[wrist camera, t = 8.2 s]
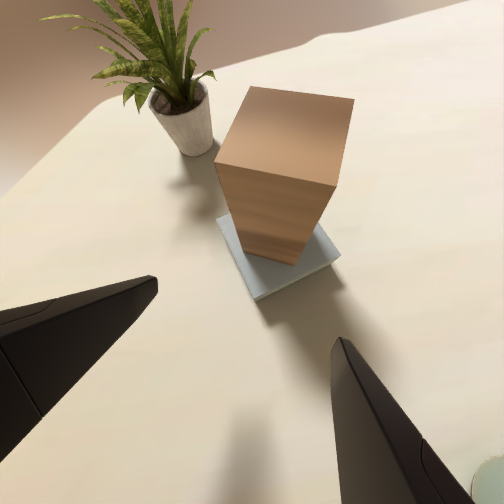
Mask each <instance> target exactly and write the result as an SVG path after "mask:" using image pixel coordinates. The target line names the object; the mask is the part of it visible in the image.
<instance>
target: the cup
mask: <svg viewBox="0 0 504 504" xmlns="http://www.w3.org/2000/svg"><path fill="white" fill-rule="evenodd" d="M472 500H473V501H474V502H475V503H476V504H504V455H498V456H494V457H491V458H489V459H488V460H486V461H484V462H483V463H482V464H481V466H480V467H479V468H478V470H477V471H476V473H475V476H474V479H473V483H472Z"/></svg>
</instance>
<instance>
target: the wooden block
mask: <svg viewBox="0 0 504 504" xmlns="http://www.w3.org/2000/svg"><path fill="white" fill-rule="evenodd" d="M354 100H355V99H349V98H341V97H333V96H325V95H317V94H309V93H301V92H293V91H285V90H277V89H269V88H261V87H253V86H250V88H249V90H248V92H247V94H246V96H245V98H244V100H243V102H242V105H241V107H240V109H239V111H238V113H237V115H236V117H235V119H234V121H233V123H232V125H231V127H230V129H229V131H228V133H227V136H226V138H225V140H224V142H223V144H222V146H221V148H220V150H219V152H218V154H217V156H216V158H215V160H214V164H215V167H216V170H217V173H218V176H219V179H220V182H221V185H222V189H223V192H224V195H225V198H226V201H227V204H228V207H229V210H230V213H231V216H232V220H233V223H234V226H235V229H236V232H237V235H238V238H239V241H240V244H241V247H242V251H243V252H244V253H248V254H251V255H255V256H259V257H262V258H266V259H269V260H273V261H276V262H280V263H284V264H287V265H291V266H295V264H296V262H297V261H298V259H299V257H300V255H301V253H302V251H303V249H304V247H305V245H306V244H307V242H308V240H309V238H310V236H311V234H312V232H313V230H314V228H315V226H316V225H317V223H318V221H319V219H320V217H321V215H322V213H323V211H324V209H325V208H326V206H327V204H328V202H329V200H330V198H331V196H332V194H333V192H334V191H335V189H336V187H337V183H338V178H339V173H340V168H341V163H342V158H343V153H344V149H345V144H346V139H347V134H348V129H349V124H350V119H351V114H352V110H353V105H354Z"/></svg>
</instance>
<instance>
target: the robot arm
mask: <svg viewBox="0 0 504 504" xmlns="http://www.w3.org/2000/svg"><path fill="white" fill-rule="evenodd" d="M157 293H158V280H157V278H156V277H154V276H151V275H147V276H143V277H139V278H135V279H131V280H127V281H123V282H119V283H115V284H111V285H107V286H103V287H99V288H95V289H91V290H87V291H83V292H79V293H75V294H71V295H67V296H63V297H59V298H58V299H57V298H55V299H51V300H47V301H43V302H38V303H34V304H30V305H26V306H21V307H16V308H12V309H7V310H2V311H0V463H1V461H2V460H3V459H4V458H5V457H6V456H7V455H8V454H9V453H10V452H11V451H12V450H13V449H14V448H15V447H16V446H17V445H18V444H19V443H20V442H21V441H22V439H23V438H24V437H25V436H26V435H27V434H28V433H29V432H30V431H31V430H32V429H33V428H34V427H35V426H36V425H37V424H38V423H39V422H40V421H41V420H42V417H44V416H45V415H46V414H47V413H48V412H49V411H50V410H51V409H52V408H53V407H54V406H55V405H56V404H57V403H58V402H59V401H60V400H61V398H62V397H63V396H64V395H65V394H66V393H67V392H68V391H69V390H70V389H71V388H72V387H73V386H74V385H75V384H76V383H77V382H78V381H79V380H80V379H81V378H82V376H83V375H84V374H85V373H86V372H87V371H88V370H89V369H90V368H91V367H92V366H93V365H94V364H95V363H96V362H97V361H98V360H99V359H100V358H101V357H102V356H103V355H104V353H105V352H106V351H107V350H108V349H109V348H110V347H111V346H112V345H113V344H114V343H115V342H116V341H117V340H118V339H119V338H120V337H121V336H122V335H123V334H124V333H125V331H126V330H127V329H128V328H129V327H130V326H131V325H132V324H133V323H134V322H135V321H136V320H137V319H138V317H139V316H140V315H141V314H142V313H143V311H144V310H145V309H146V307H147V306H148V305H149V304H150V302H151V301H152V300H153V299H154V297H155V296H156V295H157ZM331 401H332V411H333V421H334V431H335V442H336V452H337V462H338V472H339V482H340V492H341V503H342V504H476V503H475V502H474V501H473V500H472V498H471V497H470V496H469V495H468V493H467V492H466V491H465V490H464V488H463V487H462V486H461V485H460V484H459V482H458V481H457V480H456V479H455V477H454V476H453V475H452V474H451V472H450V471H449V470H448V468H447V467H446V466H445V465H444V463H443V462H442V461H441V459H440V458H439V457H438V456H437V454H436V453H435V452H434V450H433V449H432V448H431V446H430V445H429V444H428V443H427V441H426V440H425V439H424V438H422V435H421V433H420V432H419V431H418V429H417V428H416V427H415V426H414V424H413V423H412V422H411V420H410V419H409V418H408V416H407V415H406V414H405V412H404V411H403V410H402V408H401V407H400V406H399V404H398V403H397V402H396V401H395V399H394V398H393V397H392V395H391V394H390V393H389V391H388V390H387V389H386V387H385V386H384V385H383V383H382V382H381V381H380V379H379V378H378V377H377V375H376V374H375V373H374V372H373V370H372V369H371V368H370V366H369V365H368V364H367V362H366V361H365V360H364V358H363V357H362V356H361V354H360V353H359V352H358V350H357V349H356V348H355V347H354V345H353V344H352V343H351V341H350V340H348V339H346V338H342V337H339V338H338V339H337V340H336V342H335V344H334V346H333V348H332V351H331Z"/></svg>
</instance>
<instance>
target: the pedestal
mask: <svg viewBox="0 0 504 504" xmlns="http://www.w3.org/2000/svg"><path fill="white" fill-rule="evenodd" d="M216 220H217V222H218V224H219V226H220V229H221V231H222V233H223V235H224V237H225V239H226V241H227V244H228V246H229V248H230V250H231V252H232V254H233V256H234V258H235V261H236V263H237V265H238V267H239V269H240V271H241V273H242V275H243V278H244V280H245V282H246V284H247V286H248V288H249V290H250V293H251V295H252V297H253V299H254V301H255V302H256V301H258V300H260V299H262V298H264V297H266V296H268V295H270V294H272V293H274V292H276V291H278V290H280V289H282V288H284V287H286V286H288V285H290V284H292V283H294V282H296V281H298V280H300V279H302V278H304V277H306V276H308V275H310V274H312V273H314V272H316V271H318V270H320V269H322V268H324V267H326V266H328V265H330V264H332V263H333V262H334V261H335V260H336V259H337V258H338V257H340V256H341V254H340V253H339V251H338V250H337V248H336V247H335V246H334V244H333V243H332V241H331V240H330V238H329V237H328V236H327V234H326V233H325V231H324V230H323V228H322V227H321V226H320V224H319V223H317V225H316V226H315V228H314V230H313V232H312V234H311V236H310V238H309V240H308V242H307V244H306V245H305V247H304V249H303V251H302V253H301V255H300V257H299V259H298V261H297V262H296V264H295V266H291V265H287V264H284V263H280V262H276V261H273V260H269V259H266V258H262V257H259V256H255V255H251V254H248V253H244V252H243V251H242V247H241V244H240V241H239V238H238V235H237V232H236V229H235V226H234V223H233V220H232V216H231V213H228V214H226V215H224V216H222V217H219V218H217V219H216Z"/></svg>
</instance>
